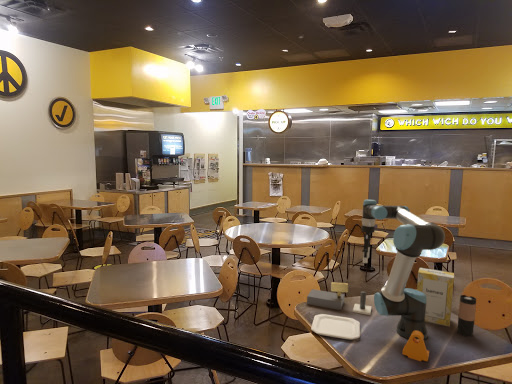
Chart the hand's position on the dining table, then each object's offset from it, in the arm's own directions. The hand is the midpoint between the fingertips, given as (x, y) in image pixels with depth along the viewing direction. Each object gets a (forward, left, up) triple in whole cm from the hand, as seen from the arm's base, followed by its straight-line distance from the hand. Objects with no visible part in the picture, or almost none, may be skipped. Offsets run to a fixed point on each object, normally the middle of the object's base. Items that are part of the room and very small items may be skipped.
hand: (365, 260), depth 222 cm
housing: (-1, +22, -31) cm, 38 cm away
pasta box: (+3, -39, -31) cm, 50 cm away
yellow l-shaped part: (+2, +15, -26) cm, 30 cm away
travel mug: (-9, -54, -31) cm, 63 cm away
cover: (-2, 0, -31) cm, 31 cm away
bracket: (-46, -28, -31) cm, 62 cm away
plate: (-34, +11, -31) cm, 48 cm away
